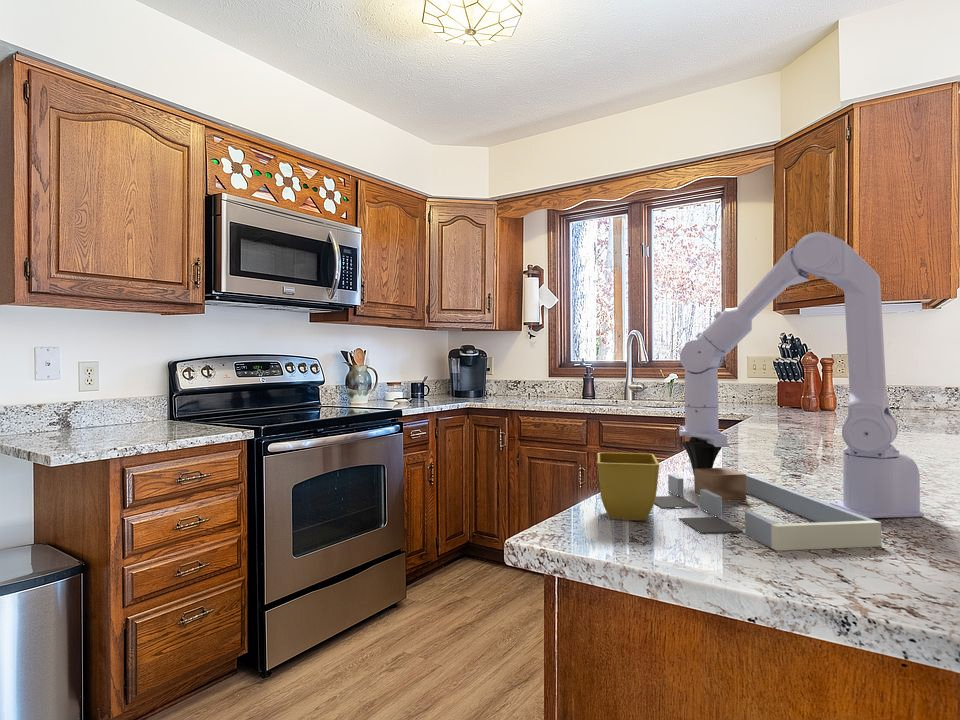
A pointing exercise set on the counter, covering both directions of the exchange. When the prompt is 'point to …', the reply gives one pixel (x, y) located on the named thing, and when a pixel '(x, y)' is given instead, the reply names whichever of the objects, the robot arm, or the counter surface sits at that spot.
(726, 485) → the walnut block
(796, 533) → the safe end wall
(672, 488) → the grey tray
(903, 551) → the counter surface
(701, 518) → the mat
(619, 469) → the flower pot
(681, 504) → the mat
